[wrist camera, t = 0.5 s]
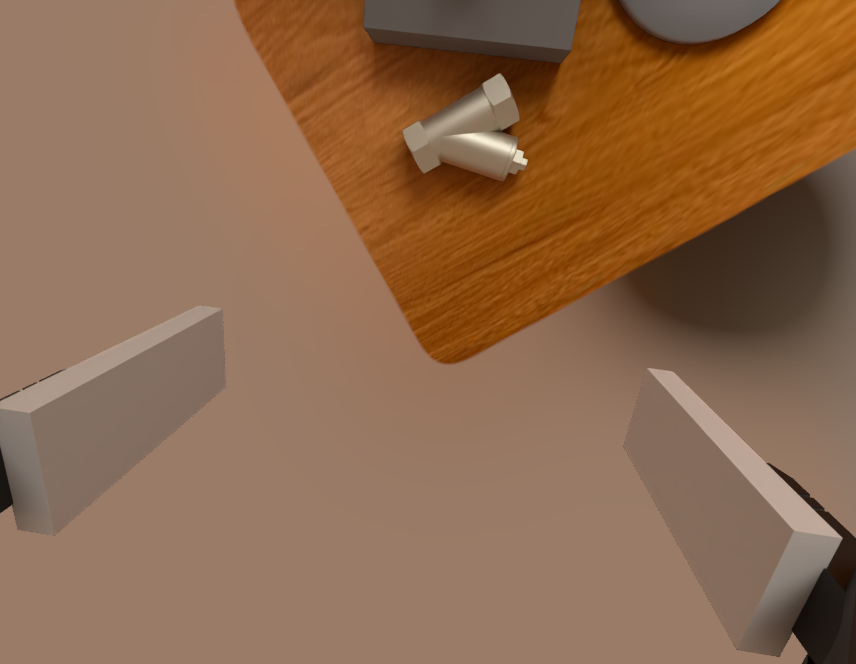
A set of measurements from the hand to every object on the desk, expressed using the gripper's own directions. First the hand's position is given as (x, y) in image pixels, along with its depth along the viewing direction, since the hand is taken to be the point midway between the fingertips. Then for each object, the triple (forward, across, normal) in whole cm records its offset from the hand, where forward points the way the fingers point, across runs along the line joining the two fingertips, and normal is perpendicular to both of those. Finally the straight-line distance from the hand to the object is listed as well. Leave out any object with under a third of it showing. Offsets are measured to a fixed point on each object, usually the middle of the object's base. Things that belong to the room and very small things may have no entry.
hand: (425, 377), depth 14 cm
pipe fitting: (+26, 0, +8) cm, 27 cm away
